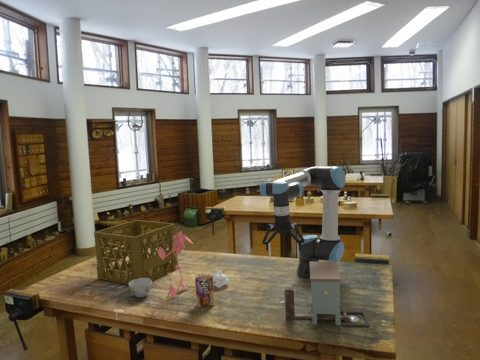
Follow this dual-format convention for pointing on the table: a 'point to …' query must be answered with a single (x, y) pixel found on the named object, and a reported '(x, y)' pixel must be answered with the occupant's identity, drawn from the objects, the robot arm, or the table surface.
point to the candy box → (204, 290)
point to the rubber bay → (356, 324)
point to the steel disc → (353, 318)
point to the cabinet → (325, 289)
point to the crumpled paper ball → (219, 279)
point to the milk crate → (134, 251)
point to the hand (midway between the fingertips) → (284, 257)
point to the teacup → (140, 286)
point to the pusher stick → (291, 314)
